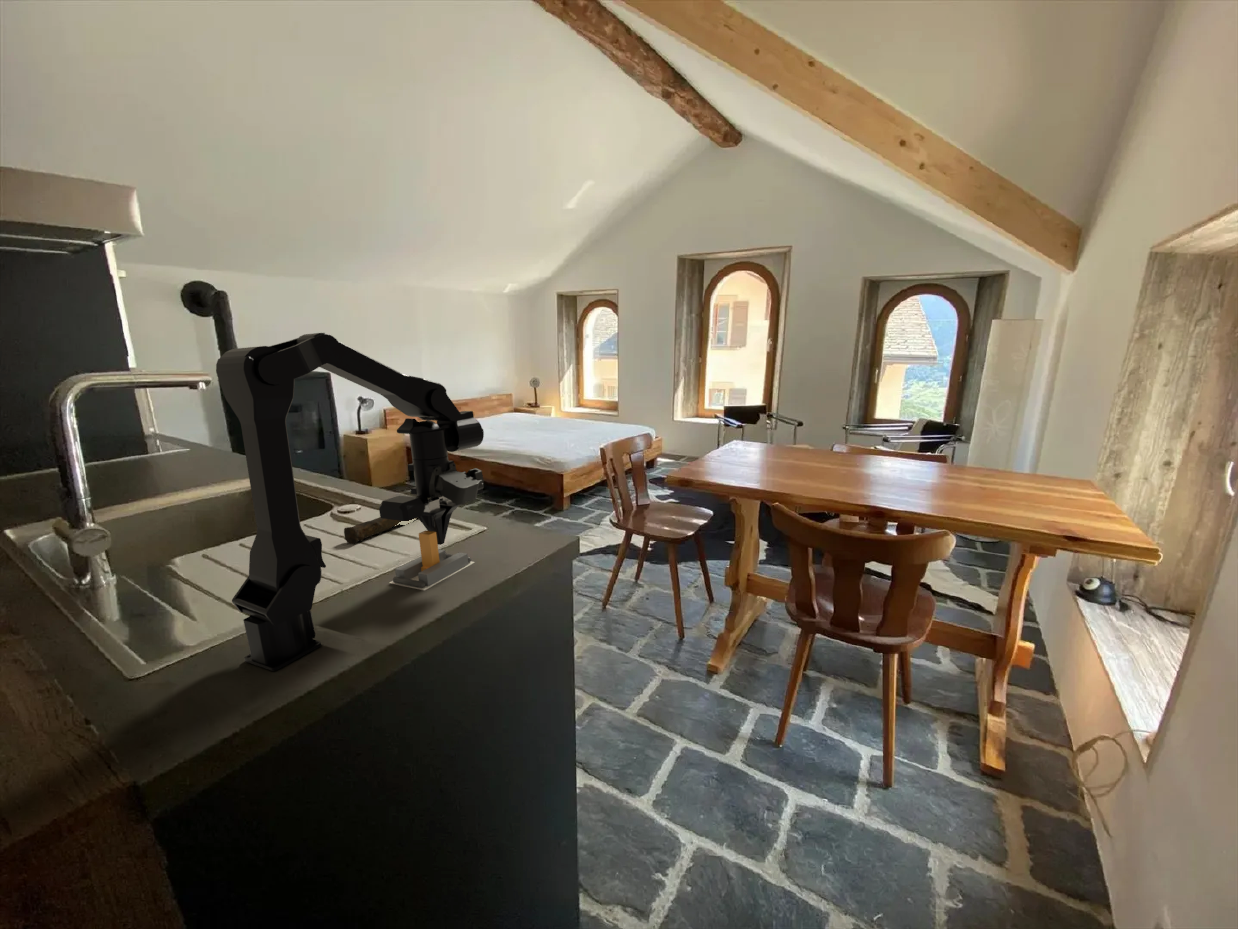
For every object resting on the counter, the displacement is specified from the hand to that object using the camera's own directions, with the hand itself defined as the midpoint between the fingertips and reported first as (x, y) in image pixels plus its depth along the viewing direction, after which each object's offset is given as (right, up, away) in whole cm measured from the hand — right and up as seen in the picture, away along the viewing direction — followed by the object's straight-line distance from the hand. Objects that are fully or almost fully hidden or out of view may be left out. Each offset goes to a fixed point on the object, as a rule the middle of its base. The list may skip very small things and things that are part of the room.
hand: (440, 544), depth 90 cm
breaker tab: (-1, -5, -1) cm, 5 cm away
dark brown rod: (-22, -2, +28) cm, 36 cm away
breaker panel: (-1, -6, -1) cm, 6 cm away
